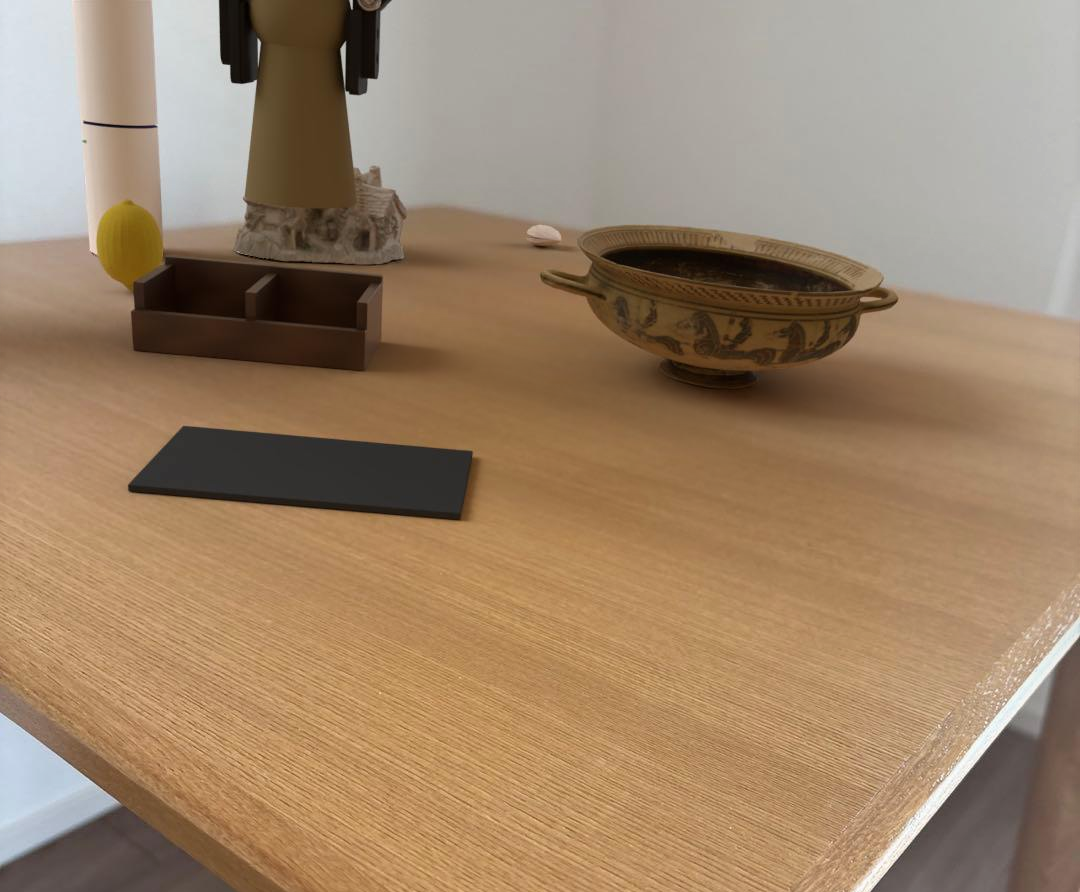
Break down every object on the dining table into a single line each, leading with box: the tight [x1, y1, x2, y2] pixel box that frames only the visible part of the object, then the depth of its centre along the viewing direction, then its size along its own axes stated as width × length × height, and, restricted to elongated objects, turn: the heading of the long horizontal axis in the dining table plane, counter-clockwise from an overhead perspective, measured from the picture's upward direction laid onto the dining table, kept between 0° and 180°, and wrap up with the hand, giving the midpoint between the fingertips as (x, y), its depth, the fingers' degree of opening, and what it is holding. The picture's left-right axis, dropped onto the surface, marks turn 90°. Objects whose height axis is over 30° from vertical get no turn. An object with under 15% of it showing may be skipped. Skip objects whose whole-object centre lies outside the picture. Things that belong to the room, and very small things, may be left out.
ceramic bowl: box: [539, 224, 899, 390], centre depth 91 cm, size 30×24×10 cm
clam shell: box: [526, 224, 562, 247], centre depth 140 cm, size 4×5×2 cm
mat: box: [127, 425, 474, 520], centre depth 66 cm, size 18×10×1 cm, turn 89°
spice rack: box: [130, 254, 384, 372], centre depth 88 cm, size 17×9×6 cm, turn 89°
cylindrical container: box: [71, 0, 165, 254], centre depth 111 cm, size 7×7×25 cm
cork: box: [244, 0, 357, 208], centre depth 59 cm, size 6×6×11 cm
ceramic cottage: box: [233, 165, 408, 265], centre depth 122 cm, size 16×16×15 cm
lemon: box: [96, 199, 164, 292], centre depth 100 cm, size 6×6×8 cm
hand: (300, 84), depth 59 cm, fingers closed on cork, 5 cm apart
